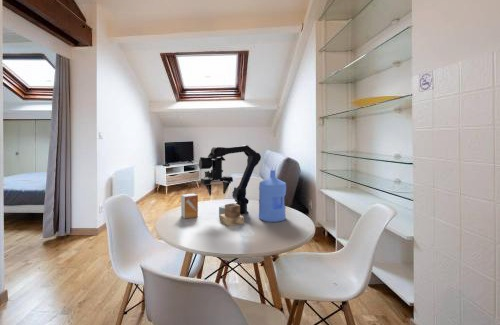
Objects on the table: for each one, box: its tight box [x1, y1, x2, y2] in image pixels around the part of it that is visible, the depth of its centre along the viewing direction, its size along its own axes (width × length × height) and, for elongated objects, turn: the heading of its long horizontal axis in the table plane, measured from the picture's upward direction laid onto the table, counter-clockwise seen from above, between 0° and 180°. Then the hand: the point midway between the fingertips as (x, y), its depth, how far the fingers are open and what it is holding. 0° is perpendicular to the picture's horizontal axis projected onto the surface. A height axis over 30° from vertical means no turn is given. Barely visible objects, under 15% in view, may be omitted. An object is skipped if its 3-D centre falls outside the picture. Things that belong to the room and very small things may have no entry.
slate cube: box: [218, 204, 226, 218], centre depth 151 cm, size 6×6×6 cm
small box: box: [180, 193, 199, 219], centre depth 150 cm, size 8×6×13 cm
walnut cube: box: [224, 202, 241, 218], centre depth 141 cm, size 6×6×6 cm
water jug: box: [258, 169, 287, 223], centre depth 147 cm, size 16×16×28 cm
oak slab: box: [219, 214, 245, 227], centre depth 141 cm, size 10×10×4 cm
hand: (217, 194), depth 151 cm, fingers open, 9 cm apart
